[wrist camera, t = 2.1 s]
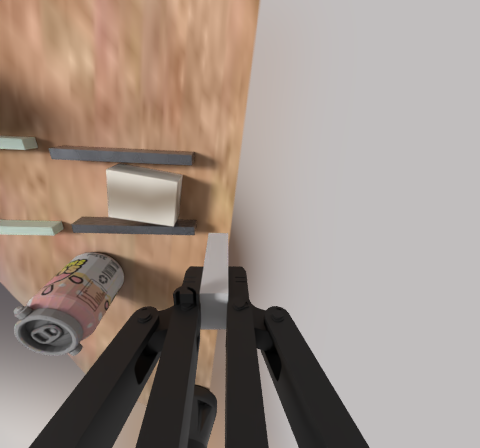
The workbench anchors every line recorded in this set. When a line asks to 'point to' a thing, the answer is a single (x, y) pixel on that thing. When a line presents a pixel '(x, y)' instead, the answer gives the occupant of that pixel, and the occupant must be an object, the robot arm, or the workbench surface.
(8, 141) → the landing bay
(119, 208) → the block
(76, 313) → the beverage can
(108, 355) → the robot arm
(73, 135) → the workbench surface
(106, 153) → the chute
